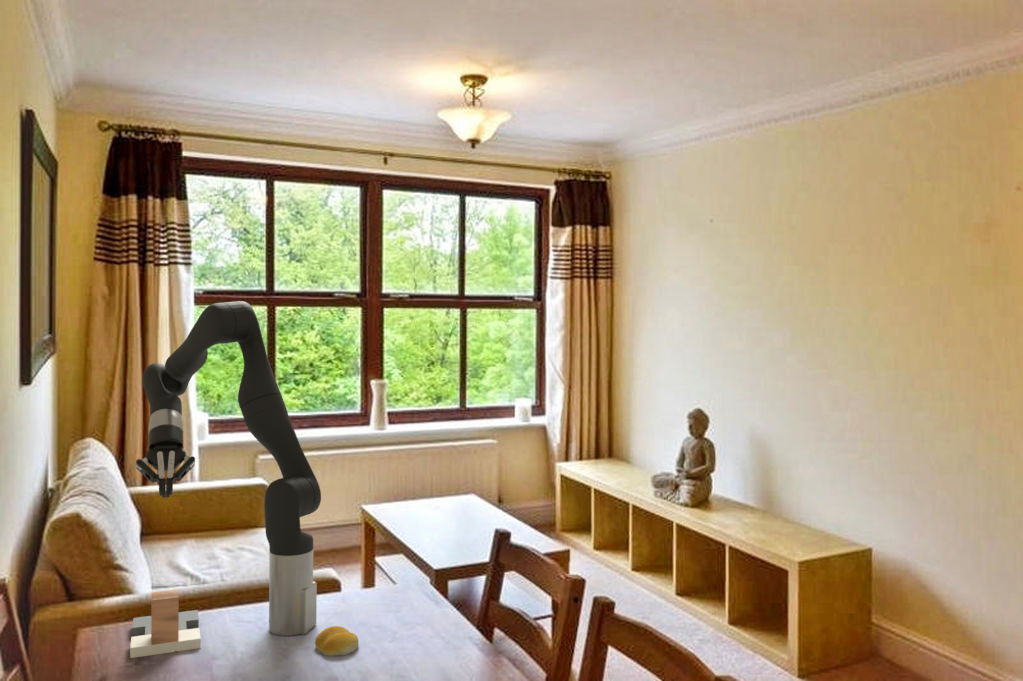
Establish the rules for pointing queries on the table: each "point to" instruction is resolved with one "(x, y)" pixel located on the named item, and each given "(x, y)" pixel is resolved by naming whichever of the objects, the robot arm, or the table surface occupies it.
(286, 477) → the robot arm
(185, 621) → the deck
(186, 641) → the pad
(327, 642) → the bread roll
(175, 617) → the block
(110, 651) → the table surface
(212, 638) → the table surface
